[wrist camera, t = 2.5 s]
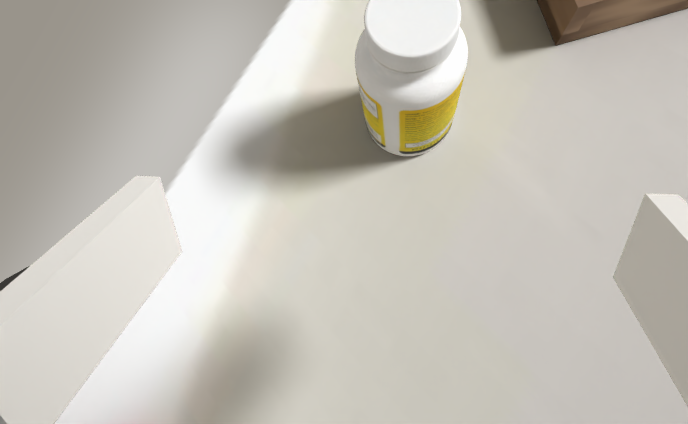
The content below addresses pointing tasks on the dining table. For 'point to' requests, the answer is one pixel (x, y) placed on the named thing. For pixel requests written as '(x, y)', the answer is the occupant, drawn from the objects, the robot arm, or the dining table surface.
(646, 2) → the walnut tray
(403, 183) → the dining table surface
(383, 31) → the supplement bottle
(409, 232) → the dining table surface
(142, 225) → the robot arm
